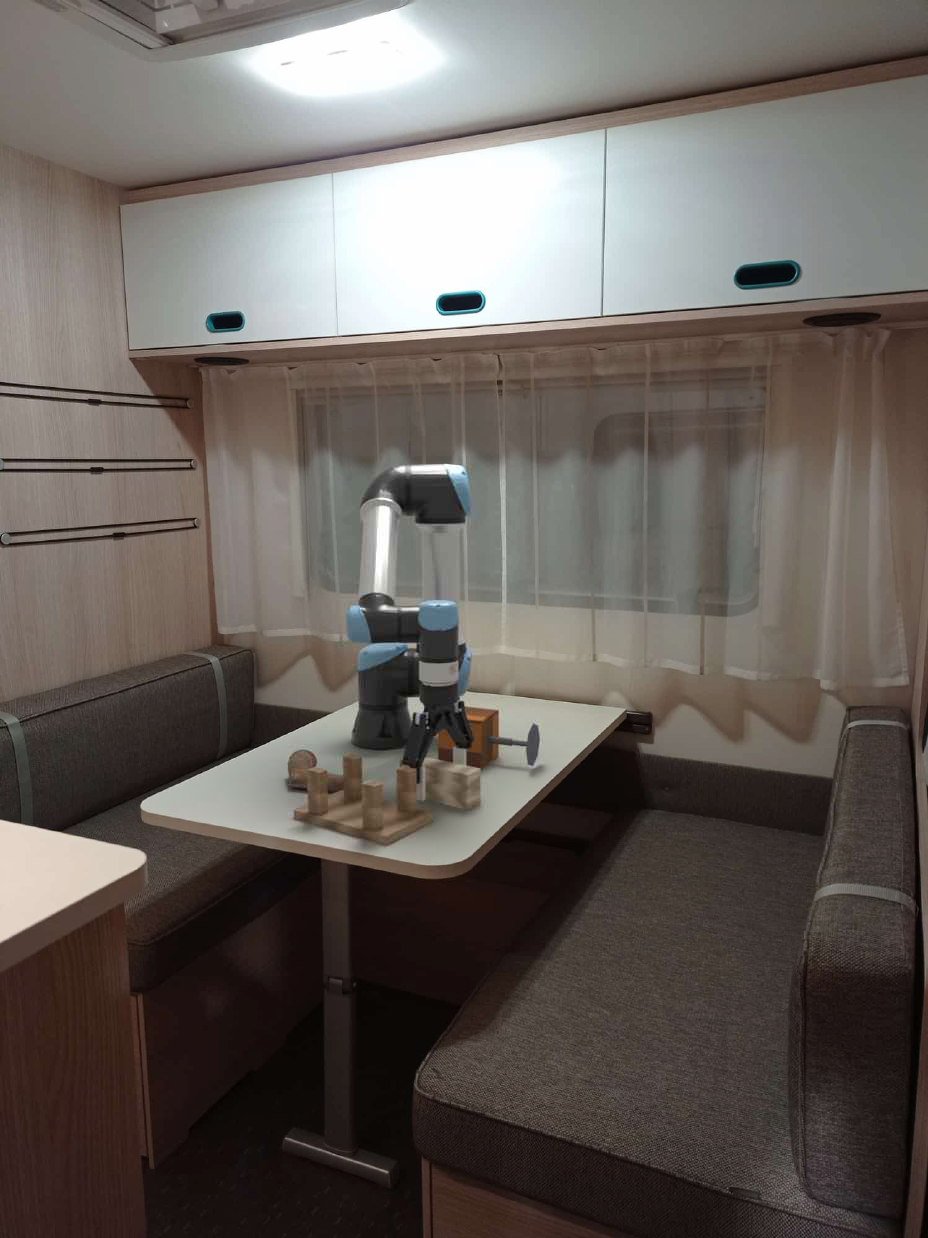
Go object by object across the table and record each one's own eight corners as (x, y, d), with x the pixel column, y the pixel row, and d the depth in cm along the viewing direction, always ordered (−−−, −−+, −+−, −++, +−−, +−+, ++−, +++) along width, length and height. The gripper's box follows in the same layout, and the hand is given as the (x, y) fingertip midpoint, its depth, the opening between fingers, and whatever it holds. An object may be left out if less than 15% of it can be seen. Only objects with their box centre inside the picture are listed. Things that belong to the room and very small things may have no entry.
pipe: (347, 775, 174) (365, 752, 183) (269, 767, 178) (291, 745, 187) (350, 804, 176) (367, 780, 185) (273, 796, 180) (294, 773, 189)
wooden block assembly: (293, 817, 164) (292, 768, 163) (341, 797, 175) (340, 750, 173) (386, 845, 152) (385, 791, 150) (432, 821, 162) (432, 770, 161)
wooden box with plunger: (524, 776, 187) (525, 710, 185) (438, 764, 195) (437, 700, 193) (540, 762, 197) (541, 698, 195) (457, 751, 205) (457, 690, 202)
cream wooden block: (400, 794, 177) (399, 760, 176) (414, 788, 181) (413, 754, 179) (467, 810, 168) (467, 774, 167) (480, 803, 172) (480, 768, 171)
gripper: (414, 696, 158) (415, 811, 161) (491, 673, 179) (490, 775, 182) (381, 691, 163) (383, 803, 166) (460, 669, 183) (460, 769, 186)
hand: (439, 789), depth 174 cm, fingers open, 13 cm apart
